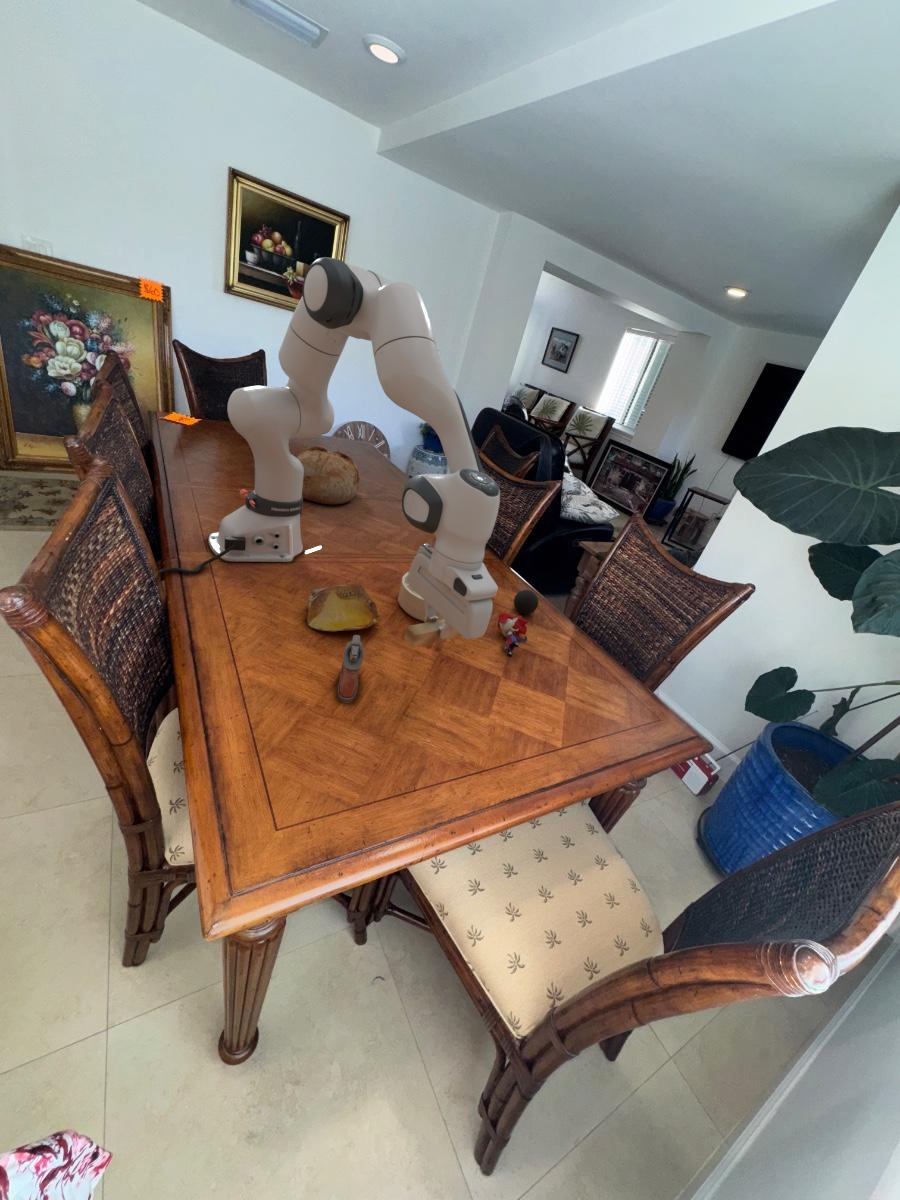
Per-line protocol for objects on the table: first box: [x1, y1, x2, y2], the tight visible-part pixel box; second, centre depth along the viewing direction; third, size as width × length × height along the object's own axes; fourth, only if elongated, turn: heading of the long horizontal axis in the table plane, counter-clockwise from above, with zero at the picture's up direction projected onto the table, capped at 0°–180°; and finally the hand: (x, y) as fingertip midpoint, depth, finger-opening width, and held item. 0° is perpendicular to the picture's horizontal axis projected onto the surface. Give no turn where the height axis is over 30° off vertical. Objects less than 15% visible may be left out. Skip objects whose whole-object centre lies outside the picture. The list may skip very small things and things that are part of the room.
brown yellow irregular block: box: [306, 583, 380, 632], centre depth 104 cm, size 17×8×15 cm
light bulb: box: [513, 589, 539, 615], centre depth 128 cm, size 6×6×10 cm
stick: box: [403, 619, 463, 648], centre depth 91 cm, size 12×3×3 cm, turn 127°
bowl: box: [397, 571, 444, 623], centre depth 117 cm, size 16×16×6 cm
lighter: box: [337, 634, 365, 704], centre depth 84 cm, size 8×3×10 cm, turn 5°
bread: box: [296, 445, 361, 506], centre depth 164 cm, size 26×23×15 cm
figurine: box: [497, 612, 530, 658], centre depth 112 cm, size 6×8×15 cm
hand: (436, 630), depth 91 cm, fingers closed on stick, 3 cm apart
